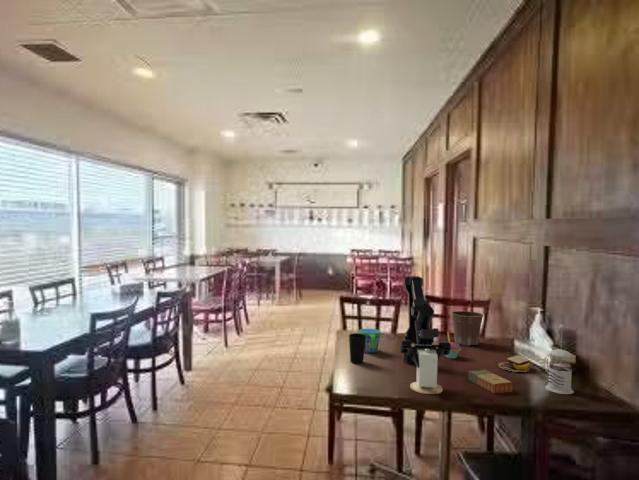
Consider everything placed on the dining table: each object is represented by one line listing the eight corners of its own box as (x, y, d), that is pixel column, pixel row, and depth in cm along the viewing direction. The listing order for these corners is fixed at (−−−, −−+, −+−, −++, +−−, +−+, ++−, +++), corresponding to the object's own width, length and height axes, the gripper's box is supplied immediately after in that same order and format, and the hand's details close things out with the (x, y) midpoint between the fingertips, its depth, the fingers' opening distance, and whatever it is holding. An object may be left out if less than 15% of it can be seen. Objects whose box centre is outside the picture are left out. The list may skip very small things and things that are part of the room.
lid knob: (427, 385, 172) (427, 381, 171) (431, 387, 169) (431, 383, 169) (421, 386, 171) (421, 381, 170) (425, 388, 168) (425, 384, 168)
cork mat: (429, 381, 178) (429, 380, 178) (449, 392, 167) (449, 390, 167) (403, 384, 173) (403, 383, 173) (422, 395, 162) (422, 394, 162)
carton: (493, 395, 166) (493, 383, 166) (467, 380, 181) (467, 370, 181) (512, 393, 168) (512, 381, 168) (485, 379, 184) (485, 368, 184)
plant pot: (445, 339, 248) (446, 310, 247) (473, 339, 249) (474, 310, 249) (458, 347, 231) (459, 316, 231) (488, 347, 233) (489, 316, 233)
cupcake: (440, 358, 211) (441, 332, 211) (443, 353, 219) (443, 329, 219) (459, 360, 208) (460, 334, 208) (461, 355, 216) (462, 331, 215)
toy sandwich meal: (492, 365, 202) (492, 355, 202) (517, 364, 206) (518, 353, 205) (511, 374, 190) (511, 363, 190) (538, 372, 193) (538, 361, 193)
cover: (416, 380, 173) (417, 346, 173) (433, 381, 173) (434, 347, 173) (419, 386, 167) (420, 351, 166) (436, 387, 167) (437, 351, 166)
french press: (561, 395, 166) (564, 328, 166) (535, 385, 177) (537, 321, 176) (580, 392, 170) (582, 326, 170) (553, 382, 181) (555, 320, 180)
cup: (364, 365, 197) (365, 338, 196) (347, 363, 198) (347, 336, 198) (366, 360, 204) (366, 334, 204) (349, 359, 206) (350, 332, 205)
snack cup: (357, 347, 227) (357, 326, 227) (378, 347, 227) (378, 327, 227) (360, 355, 212) (360, 334, 211) (382, 356, 212) (383, 334, 211)
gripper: (401, 319, 174) (405, 355, 163) (450, 321, 173) (457, 357, 162) (398, 334, 182) (401, 370, 171) (445, 336, 181) (451, 372, 170)
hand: (427, 367), depth 168 cm, fingers closed on cover, 6 cm apart
